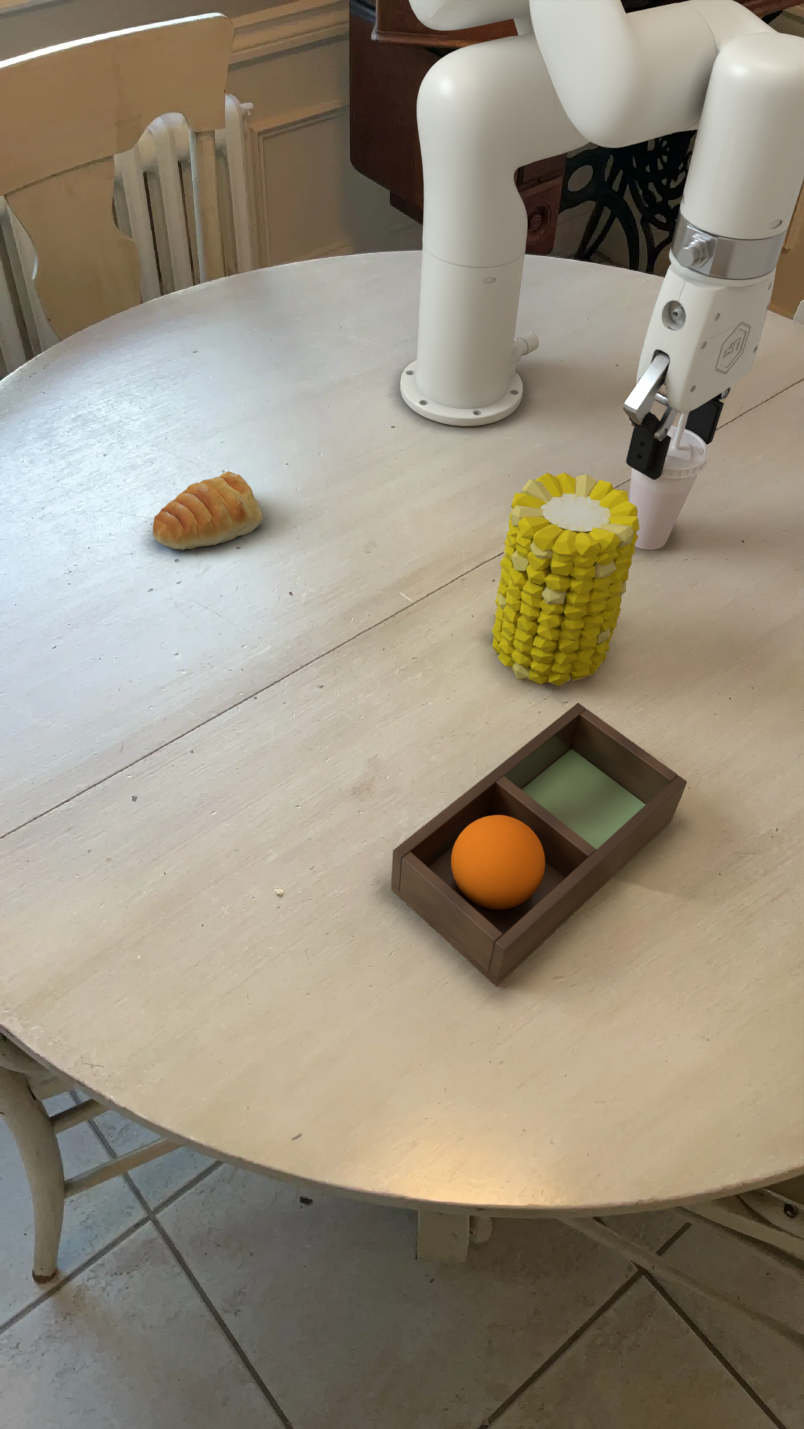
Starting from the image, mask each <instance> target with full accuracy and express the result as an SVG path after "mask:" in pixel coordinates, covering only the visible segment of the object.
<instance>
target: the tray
mask: <svg viewBox="0 0 804 1429" xmlns="http://www.w3.org/2000/svg"><path fill="white" fill-rule="evenodd" d="M687 784H688V781H687V780H686V779H685V778H683V777H682V776H680V775H679V774H678V773H677V772H675V771H673V769H671V768H669V766H667V765H666V764H664V763H663V762H661V761H660V760H659V759H658V758H656V757H654V756H653V755H652V754H650V753H649V752H648V751H646V750H645V749H643V748H642V747H641V746H639V745H638V744H636V743H635V742H634V741H632V740H630V739H629V738H628V737H627V736H626V735H624V734H623V733H621V732H620V731H619V730H617V729H615V727H613V726H611V725H610V724H608V722H606V721H604V720H603V719H602V718H601V717H599V716H598V715H596V714H595V713H594V712H592V711H590V709H588V708H586V707H585V706H584V705H582V704H581V703H579V702H577V703H576V704H574V705H573V706H572V707H571V708H569V709H568V710H567V711H565V712H564V713H563V714H562V715H561V716H560V717H558V718H556V720H554V721H553V722H552V723H550V725H548V726H546V728H545V729H543V730H542V731H541V732H539V733H538V734H537V735H535V736H534V737H533V738H532V739H531V740H529V741H528V742H527V743H525V744H524V745H522V746H521V748H519V749H518V750H517V751H516V752H514V753H513V754H512V755H510V756H508V758H507V759H506V760H504V761H503V762H502V763H500V764H499V765H498V766H497V767H495V768H494V769H492V771H490V772H489V773H488V774H486V776H484V777H483V778H481V779H480V780H479V781H478V782H477V783H476V784H474V785H473V786H472V787H470V788H469V789H468V790H467V791H466V792H464V793H463V794H461V795H460V796H459V797H457V799H455V800H454V801H453V802H451V803H450V804H449V805H448V806H447V807H445V808H444V809H443V810H442V811H440V812H439V813H438V814H437V815H435V816H434V817H433V818H432V819H430V820H429V821H428V822H427V823H425V824H424V825H423V826H421V828H419V829H417V830H416V831H415V832H414V833H413V834H411V836H410V835H409V837H408V838H407V839H405V840H404V841H402V843H400V844H399V845H398V846H396V847H395V848H394V849H392V859H391V861H392V862H391V879H390V880H391V882H390V883H391V884H390V890H391V891H392V892H393V893H394V894H395V895H396V896H398V898H399V899H400V900H402V901H403V902H404V903H405V904H406V905H407V906H408V908H410V909H411V910H412V911H414V912H415V913H416V914H417V915H418V916H419V917H420V918H421V919H422V920H424V921H425V923H427V924H428V925H429V926H430V927H431V928H432V929H433V930H434V931H435V932H437V933H438V934H439V935H440V936H441V937H442V938H443V939H444V940H445V941H446V942H447V943H448V944H449V945H451V947H452V948H454V950H456V951H457V952H458V953H459V954H460V955H461V956H463V958H464V959H465V960H467V962H469V963H470V964H471V965H472V966H474V968H476V969H477V970H478V971H479V972H480V973H481V974H482V975H483V976H484V977H485V978H486V979H487V980H489V981H490V982H491V983H492V984H493V985H494V986H495V987H498V986H499V985H500V984H501V983H502V982H503V981H505V979H506V978H508V977H509V976H510V975H511V974H512V973H513V972H514V971H515V970H516V969H517V968H518V967H519V966H521V965H522V964H523V962H524V961H526V960H527V959H528V958H529V957H530V956H531V955H532V954H533V953H534V952H535V951H536V950H537V949H538V948H539V947H541V946H542V945H543V944H544V943H545V942H546V941H547V940H548V939H549V938H550V937H551V936H552V935H554V933H555V932H556V931H557V930H558V929H559V928H561V926H563V925H564V924H565V923H566V922H568V920H569V919H570V918H571V917H572V916H573V915H575V913H576V912H578V911H579V909H581V908H582V907H583V906H584V905H585V904H586V903H587V902H588V901H589V900H590V899H591V898H592V897H593V896H595V894H597V893H598V892H599V891H601V889H602V888H603V887H604V886H605V885H606V884H608V882H609V881H611V879H612V878H614V877H615V875H617V874H618V873H619V872H620V871H621V870H622V869H623V868H624V867H626V866H627V864H628V863H629V862H630V861H632V860H633V859H634V858H635V857H637V855H638V854H639V853H640V852H641V851H642V850H644V849H645V847H647V846H648V845H649V844H650V843H651V842H652V841H653V840H654V839H655V838H656V837H657V836H658V835H659V834H660V833H661V832H662V831H663V830H664V829H665V828H667V827H668V825H670V824H671V823H672V822H673V818H674V816H675V813H676V811H677V809H678V807H679V805H680V804H679V803H680V801H681V799H682V797H683V794H684V791H685V789H686V786H687ZM492 815H504V816H509V817H512V818H515V819H517V820H519V821H521V822H523V823H524V824H526V825H527V826H528V827H529V828H530V829H532V831H533V832H534V833H535V834H536V836H537V837H538V839H539V840H540V843H541V845H542V847H543V851H544V856H545V870H544V875H543V879H542V881H541V883H540V885H539V887H538V889H537V890H536V891H535V893H534V894H533V895H532V896H531V897H530V898H529V899H528V900H526V901H525V902H524V903H522V904H520V905H518V906H516V907H513V908H509V909H503V910H494V909H488V908H485V907H481V906H479V905H477V904H475V903H474V902H472V901H471V900H470V899H468V898H467V897H466V896H465V895H464V894H463V893H462V892H461V890H460V889H459V887H458V886H457V884H456V882H455V879H454V877H453V873H452V868H451V855H452V851H453V847H454V844H455V842H456V840H457V838H458V837H459V835H460V834H461V832H462V831H463V830H464V829H465V828H466V827H467V826H468V825H470V824H471V823H472V822H474V821H476V820H478V819H480V818H483V817H486V816H492Z"/></svg>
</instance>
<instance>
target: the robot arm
mask: <svg viewBox="0 0 804 1429" xmlns="http://www.w3.org/2000/svg"><path fill="white" fill-rule="evenodd" d="M408 2H409V5H410V8H411V10H412V11H413V14H414V15H415V17H416V19H417V20H418V21H419V22H420V23H421V24H422V25H424V26H425V27H427V28H429V29H431V30H436V31H445V32H446V31H459V30H464V29H465V30H466V29H470V28H475V27H476V28H477V27H480V26H486V25H490V24H495V23H499V22H500V23H501V22H505V21H509V20H513V22H514V25H515V28H516V32H517V35H511V36H506V37H502V38H497V39H492V40H488V41H483V42H478V43H474V44H470V45H467V46H464V47H461V48H458V49H456V50H454V51H452V52H450V53H448V54H446V55H444V56H443V57H441V58H440V59H439V60H437V61H436V62H435V63H434V64H433V65H432V66H431V67H430V68H429V69H428V71H427V72H426V74H425V76H424V77H423V79H422V80H421V84H420V86H419V91H418V93H417V99H416V123H417V124H416V125H417V131H418V139H419V146H420V154H421V155H420V156H421V163H422V176H423V178H422V179H423V216H422V217H423V218H422V220H423V221H422V222H423V223H422V237H421V239H422V246H421V247H422V248H421V252H422V253H421V267H420V268H421V270H420V288H419V291H420V292H419V305H418V306H419V307H418V308H419V310H418V325H417V326H418V328H417V346H416V347H417V348H416V349H417V350H416V359H415V360H413V361H411V362H410V363H409V364H408V365H407V366H406V367H405V368H404V370H403V371H402V373H401V377H400V384H399V391H400V395H401V397H402V399H403V401H404V403H405V404H406V406H408V407H409V408H410V410H412V411H413V412H415V413H417V414H418V415H420V416H422V417H423V418H426V419H428V420H430V421H434V422H437V423H439V424H444V425H448V426H458V427H477V426H483V425H488V424H492V423H495V422H499V421H500V420H503V419H505V418H507V417H508V416H510V415H511V414H512V413H514V412H515V411H516V410H517V409H518V407H519V406H520V404H521V402H522V399H523V394H524V386H523V384H524V383H523V381H522V379H521V376H520V375H519V374H518V372H517V371H516V364H518V363H519V362H520V361H521V358H522V357H524V356H527V355H528V354H531V353H533V352H534V351H537V350H538V349H539V347H540V339H539V337H538V335H537V333H535V332H534V331H528V332H526V333H524V334H522V335H520V336H518V337H517V338H515V336H516V329H517V328H516V326H517V321H518V320H517V319H518V311H519V303H520V295H521V288H522V280H523V271H524V265H525V256H526V249H527V248H526V247H527V246H526V245H527V239H528V214H527V213H528V212H527V210H526V206H525V202H524V200H523V199H522V197H521V194H520V192H519V191H518V189H517V188H518V187H517V185H516V183H515V172H516V171H517V170H518V169H519V168H521V167H524V166H526V165H530V164H532V163H536V162H538V161H542V160H546V159H548V158H553V157H556V156H559V155H564V154H565V153H569V152H572V151H575V150H577V149H580V148H582V147H585V146H586V145H588V144H589V143H592V144H595V145H597V146H600V147H602V148H612V149H618V148H624V147H628V146H631V145H637V144H640V143H643V142H647V141H650V140H653V139H657V138H660V137H664V136H667V135H668V136H669V135H670V134H674V133H680V132H687V131H695V130H697V133H696V137H695V141H694V145H693V150H692V153H691V159H690V162H689V167H688V170H687V175H686V180H685V183H684V188H683V192H682V198H681V200H680V206H679V209H678V214H677V217H676V218H677V219H676V222H675V227H674V231H673V235H672V240H671V244H670V248H669V252H668V259H669V261H670V265H669V266H668V268H667V270H666V274H665V276H664V279H663V282H662V284H661V286H660V290H659V293H658V296H657V298H656V301H655V305H654V308H653V310H652V313H651V317H650V320H649V324H648V327H647V330H646V334H645V338H644V341H643V345H642V349H641V353H640V356H639V362H638V365H637V366H638V367H637V373H636V379H635V380H636V382H635V383H636V385H635V387H634V388H633V390H632V391H631V393H630V394H629V396H628V397H627V398H626V400H625V401H624V403H623V407H622V410H623V411H624V413H625V414H626V416H627V417H628V420H629V421H630V423H631V424H630V425H631V427H633V430H632V433H631V438H630V441H629V442H630V443H629V446H628V451H627V456H626V460H625V463H626V465H627V466H628V467H630V468H631V469H632V468H633V469H635V470H637V471H639V472H640V473H642V474H644V475H646V476H647V477H649V478H651V479H652V480H656V479H658V478H659V477H660V476H661V474H662V470H663V467H664V463H665V459H666V456H667V452H668V448H669V445H670V441H671V437H669V436H668V435H667V433H668V431H669V429H670V427H671V425H672V426H673V423H674V421H675V419H676V417H677V415H678V414H681V413H686V412H689V414H688V418H687V421H686V425H685V428H684V429H687V430H690V431H691V432H693V433H695V434H697V435H698V436H699V437H701V438H702V439H703V441H704V442H705V443H706V445H707V446H708V445H709V444H711V443H712V442H713V440H714V438H715V435H716V431H717V427H718V424H719V421H720V418H721V414H722V411H723V408H724V404H725V402H723V401H725V400H726V399H727V398H728V397H729V395H730V393H731V390H732V386H734V385H736V384H737V383H738V382H740V381H741V380H742V379H743V378H745V377H746V376H747V375H748V373H750V371H751V370H752V368H753V365H754V362H755V359H756V356H757V353H758V352H757V351H758V350H759V345H760V342H761V339H762V334H763V331H764V328H765V323H766V319H767V316H768V312H769V307H770V303H771V299H772V295H773V289H774V284H775V278H776V272H777V265H778V261H779V258H780V255H781V251H782V249H783V246H784V242H785V240H786V235H787V232H788V229H789V226H790V223H791V220H792V216H793V214H794V211H795V207H796V204H797V201H798V198H799V195H800V191H801V189H802V185H803V182H804V37H801V36H798V35H793V34H789V33H784V32H783V33H782V32H778V31H777V30H775V29H774V28H773V27H771V26H770V25H769V24H767V23H766V22H765V21H763V20H762V18H760V17H759V16H757V15H756V14H755V13H754V12H753V11H751V10H750V9H748V8H747V7H745V6H744V5H742V4H740V3H739V2H737V1H736V0H686V1H682V2H674V3H670V4H665V5H660V6H656V7H651V8H646V9H641V10H636V11H632V12H627V13H626V11H625V8H624V6H623V3H622V1H621V0H408ZM662 386H664V387H665V390H666V393H665V392H663V391H661V390H660V389H661V388H662ZM655 402H657V403H659V404H661V405H662V406H664V407H666V408H665V409H664V411H663V414H662V416H661V417H660V419H659V418H658V416H657V415H656V414H654V413H653V412H652V411H651V409H652V407H653V405H654V403H655Z"/></svg>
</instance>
